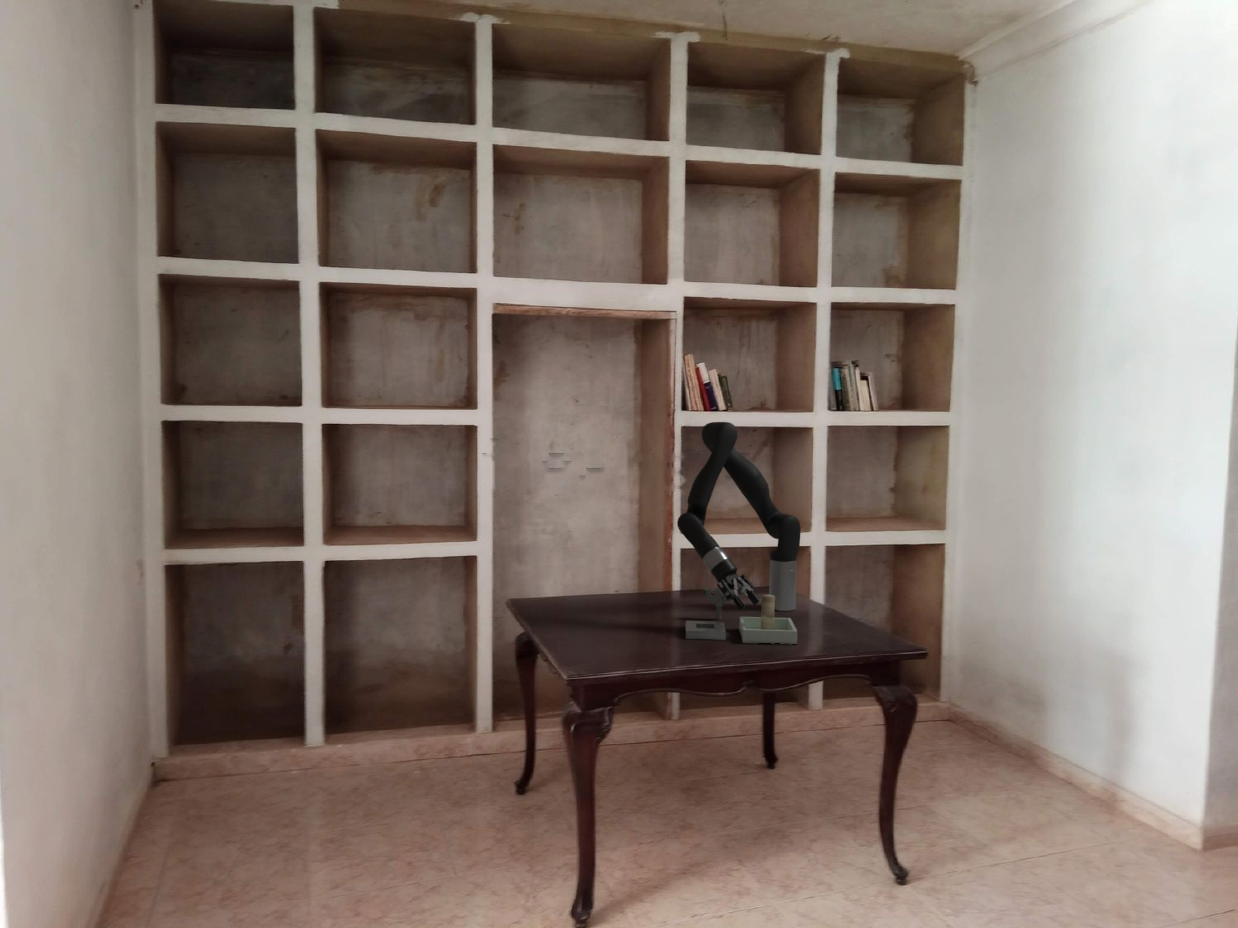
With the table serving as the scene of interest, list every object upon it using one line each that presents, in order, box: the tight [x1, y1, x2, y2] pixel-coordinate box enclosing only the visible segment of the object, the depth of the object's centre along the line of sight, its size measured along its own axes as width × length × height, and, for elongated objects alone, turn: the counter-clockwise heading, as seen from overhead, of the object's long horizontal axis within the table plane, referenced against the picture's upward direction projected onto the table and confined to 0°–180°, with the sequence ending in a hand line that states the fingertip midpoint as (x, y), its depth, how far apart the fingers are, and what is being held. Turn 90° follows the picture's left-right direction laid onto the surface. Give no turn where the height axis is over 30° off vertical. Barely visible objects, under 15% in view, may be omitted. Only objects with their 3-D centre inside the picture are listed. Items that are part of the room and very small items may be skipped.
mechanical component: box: [702, 587, 732, 620], centre depth 282 cm, size 3×10×10 cm, turn 79°
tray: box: [738, 616, 798, 645], centre depth 261 cm, size 16×16×4 cm
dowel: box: [760, 594, 775, 630], centre depth 261 cm, size 4×4×12 cm
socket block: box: [685, 620, 727, 641], centre depth 264 cm, size 12×12×2 cm
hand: (750, 605), depth 265 cm, fingers open, 8 cm apart
